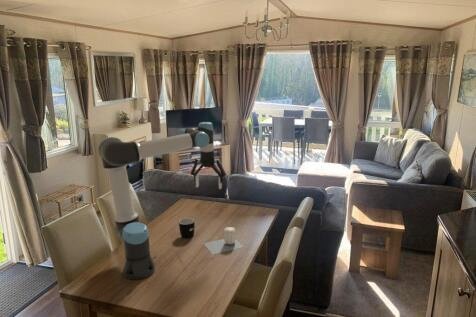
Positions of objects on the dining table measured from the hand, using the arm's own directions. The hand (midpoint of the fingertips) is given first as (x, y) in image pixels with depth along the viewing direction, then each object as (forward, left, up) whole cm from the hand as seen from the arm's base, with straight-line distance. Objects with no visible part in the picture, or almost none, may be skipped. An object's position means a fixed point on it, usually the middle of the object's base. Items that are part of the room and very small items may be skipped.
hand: (208, 187), depth 202 cm
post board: (+2, -14, -31) cm, 34 cm away
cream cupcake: (+6, -14, -28) cm, 32 cm away
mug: (-11, +8, -31) cm, 34 cm away
